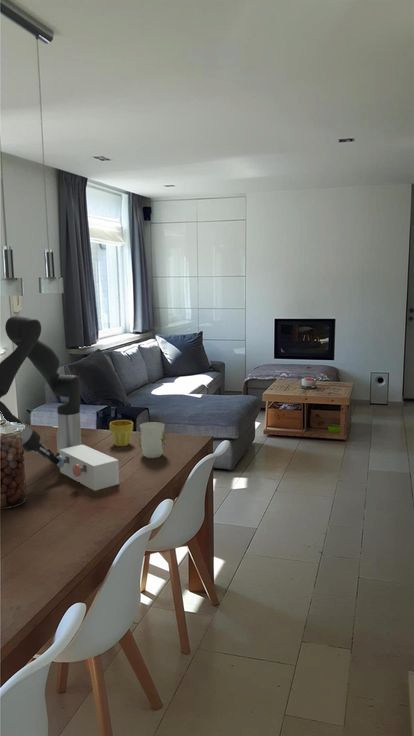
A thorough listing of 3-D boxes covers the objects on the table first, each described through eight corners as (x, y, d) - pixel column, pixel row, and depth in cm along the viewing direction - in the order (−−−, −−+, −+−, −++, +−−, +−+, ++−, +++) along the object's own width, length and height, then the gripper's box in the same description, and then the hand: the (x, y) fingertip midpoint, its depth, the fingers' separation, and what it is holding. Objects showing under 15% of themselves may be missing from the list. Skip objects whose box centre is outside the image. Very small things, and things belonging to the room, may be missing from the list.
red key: (78, 478, 202) (78, 466, 201) (72, 474, 205) (72, 463, 204) (100, 472, 207) (99, 461, 207) (94, 469, 211) (93, 458, 210)
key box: (94, 490, 202) (93, 466, 200) (60, 472, 221) (59, 449, 220) (119, 484, 208) (118, 460, 207) (83, 466, 227) (82, 444, 226)
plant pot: (131, 447, 253) (131, 425, 251) (108, 447, 253) (107, 425, 251) (135, 440, 263) (134, 419, 261) (112, 440, 263) (111, 419, 262)
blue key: (61, 469, 212) (61, 457, 211) (56, 466, 215) (55, 454, 214) (82, 464, 217) (82, 452, 216) (76, 461, 220) (76, 450, 220)
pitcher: (168, 448, 250) (167, 417, 248) (164, 461, 233) (163, 428, 231) (143, 448, 251) (142, 417, 249) (136, 461, 233) (136, 428, 231)
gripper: (38, 431, 199) (72, 458, 209) (22, 424, 209) (55, 450, 219) (24, 449, 197) (59, 475, 206) (9, 440, 206) (43, 466, 216)
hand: (57, 462), depth 213 cm, fingers closed
